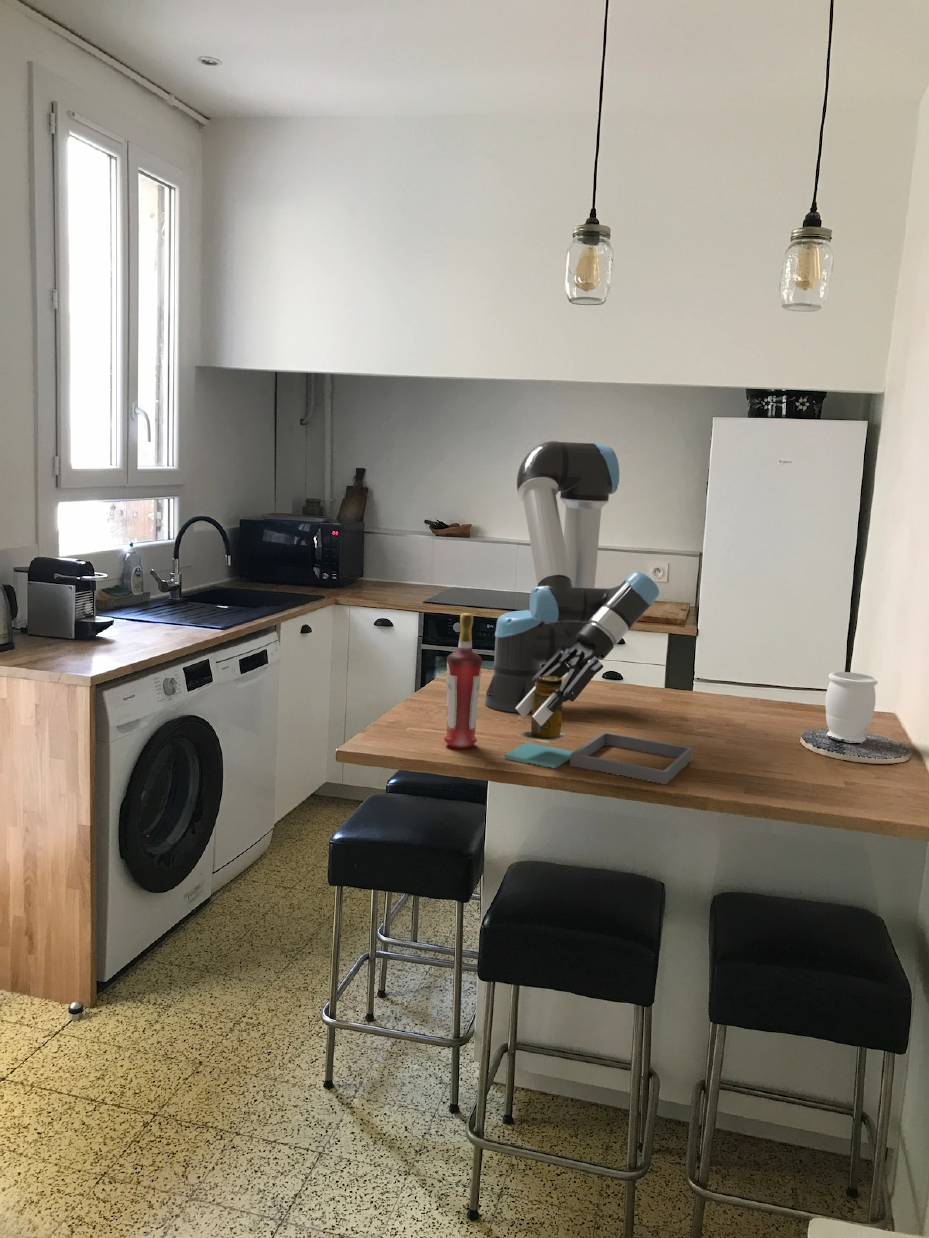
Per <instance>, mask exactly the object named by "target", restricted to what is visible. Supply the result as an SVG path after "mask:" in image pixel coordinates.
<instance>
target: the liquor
mask: <svg viewBox="0 0 929 1238" xmlns="http://www.w3.org/2000/svg"><path fill="white" fill-rule="evenodd" d="M459 625H460V633H459V638H458V639H459V640H458V647H457V650H456V651H453V652H452V653H450V654H449V655H448V656H446V735H445V736H444V739H443V740H444V742H445V743H446V744H447V745H448V746H449V747H450V746H451V747H450V748H452V747H453V748H452V749H455V748H457V750H466V749H470V748H471V747H473V746H474V745H475V744H476V743H477V741H478V740H477V738H476V724H477V713H478V703H479V693H480V686H481V676H482V675H481V674H482V666H483V658H482V657H481V656H480V655H479V654H478V653H476V652H474V651H473V642H472V641H473V640H472V638H473V637H472V628H473V625H474V614H473V613H460V615H459Z"/></svg>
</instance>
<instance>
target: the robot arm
mask: <svg viewBox="0 0 929 1238" xmlns="http://www.w3.org/2000/svg"><path fill="white" fill-rule="evenodd" d="M619 465H620V464H619V461H618V457H617V454H616V453H615V450H614V449H613V448H612V447H611V446H609V445H608V444H601V443H596V442H593V443H592V442H591V443H588V442H571V441H569V442H568V441H567V442H566V441H558V440H557V441H555V440H553V441H552V440H551V441H546V442H543V443H540V444H538V445H536V446H535V447H534V448H533V449H531V450H530V451H528V453H527V454H526V456H525V457H524V459H523V460H522V461H521V463H520V466H519V469H518V472H517V476H516V488H517V489H516V490H517V495H518V496H517V497H518V498H519V500H521V501H522V502H523V506H524V512H525V518H526V523H527V530H528V531H527V532H528V536H529V542H530V547H531V555H532V560H533V567H534V572H535V578H536V584H537V586H535V587H533V588H532V590H530V591H531V592H530V595H529V609H525V610H524V609H523V610H515V611H508V612H506V613H503V614H502V615H500V616H499V617H498V618H497V620H496V627H495V632H494V637H495V640H494V658H493V659H494V662H493V672H492V673H493V674H492V676H491V679H490V682H489V684H488V687H487V689H486V692H485V695H484V705H486V706H487V707H489V708H491V709H494V710H498V711H502V712H511V713H518V714H520V716H522V717H523V718H526V717H527V715H528V714H529V713H532V707H533V692H534V690H535V688H536V687H535V686H536V679H537V677H539V676H555V677H559V678H561V679H562V678H563V677H564V676H565V675H566V676H565V678H564V680H562V685H561V686H560V688H559V690H558V689H555V692H556V693H557V694H558V695H556V694H555V693H554V692H553V693H552V694H551V695H550V697H549V698H548V699H547V700H546V701H545V702H544V703H543V705H542V706H541V707H540V708H539V709H538V710H537V711H536V712H535V714H534V715H533V716H532V715H531V718H532V717H533V718H534V719H535V720H536V721H537V723H538V724H539V725H541V726H542V725H543V724H544V723H545V722H546V720H547V719H548V718H549V717H550V716H551V715H552V714H553V713H554V712H555V711H556V710H557V709H558V708H559V706H560V705H561V704H562V703H565V702H567V701H570V702H574V701H575V700H576V699H577V697H578V696H580V694H581V693H582V692H583V690H584V689H585V688H586V687H587V686H588V684H589V683H590V682H591V681H592V679H594V677H595V675H597V674H598V672H600V671H601V670H602V669H603V668H604V665H603V664H602V663H601V661H600V660H603V659H606V657H607V656H609V654H610V653H611V651H612V650H613V649H614V648H615V645H617V644H618V643H619V642H620V641H621V640H622V639H623V638H624V636H625V635H626V634H627V633H628V632H629V630H631V628H632V627H633V626H635V624H636V623H637V622H638V621H639V620H640V618H641V617H642V616H643V615H644V614H645V613H646V612H647V610H648V609H650V608H651V607H652V606H653V604H654V602H655V601H656V599H658V597H659V595H660V590H659V586H658V585H657V584H656V583H655V581H654V580H653V579H652V578H651V577H649V575H647V574H646V573H644V572H641V571H633V572H631V573H630V574H629V575H628V576H627V577H626V578H624V581H623V582H622V583H621V584H620V585H617V586H614V587H612V588H603V587H602V588H600V587H599V588H597V587H596V576H597V575H596V574H597V566H598V565H597V564H598V554H599V553H598V550H599V544H600V543H599V541H600V528H601V517H602V508H603V507H604V506H606V504H607V503H609V499H610V498H609V497H610V495H612V494H615V493H616V492H617V491H618V486H619V485H620V466H619ZM559 492H560V493H559ZM558 494H559V499H560V500H561V502H562V503H563V504H564V506H565V510H564V511H565V514H564V524H563V525H564V527H562V521H561V517H560V511H559V505H558V499H557V495H558ZM542 665H544V666H543V667H542ZM562 705H563V704H562Z"/></svg>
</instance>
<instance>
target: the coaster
mask: <svg viewBox="0 0 929 1238" xmlns="http://www.w3.org/2000/svg"><path fill="white" fill-rule="evenodd" d="M574 751H575V750H574ZM574 751H573V750H569V749H563V748H558V747H555V746H553V747H552V746H547V745H543V744H542V745H541V744H538V743H537V744H536V743H534V742H533V743H532V742H524V743H523V744H522V745H519V746H517V747H516V748H514V749H513V750H511V751H509V752H507V753H506V754H504V759H505V760H509V761H513V760H514V762H519V763H524V764H528V763H531V764H530V765H533V764H536V765H535V766H538V765H540V766H539V767H543V768H548V767H551V768H550V769H553V768H556V767H557V768H559V767H560V766H561V764H562V765H563V764H564V763H566V762H567V761H570V757H571V753H573V752H574ZM557 768H556V769H557Z"/></svg>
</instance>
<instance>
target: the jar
mask: <svg viewBox="0 0 929 1238" xmlns="http://www.w3.org/2000/svg"><path fill="white" fill-rule="evenodd" d="M828 679H829V680H830V682H829V684H828V685H827V686H828V687H827V690H826V694H825V720H826V724H827V729H829V730H828V731H827V733H826V736H827V735H828V736H832V737H835V738H838V739H845V740H849V741H855V742H857V741H858V742H862V741H865V740H866V741H867V739H866V737H865V734H866V733H867V732H868V729H869V727H870V725H871V722H872V718H873V715H874V711H875V706H876V688H875V686H876V685H878V683H879V679H878V678H877V677H874V676H871V675H869V674H863V673H857V672H850V671H832V672H829V674H828ZM866 741H865V742H866Z"/></svg>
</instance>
